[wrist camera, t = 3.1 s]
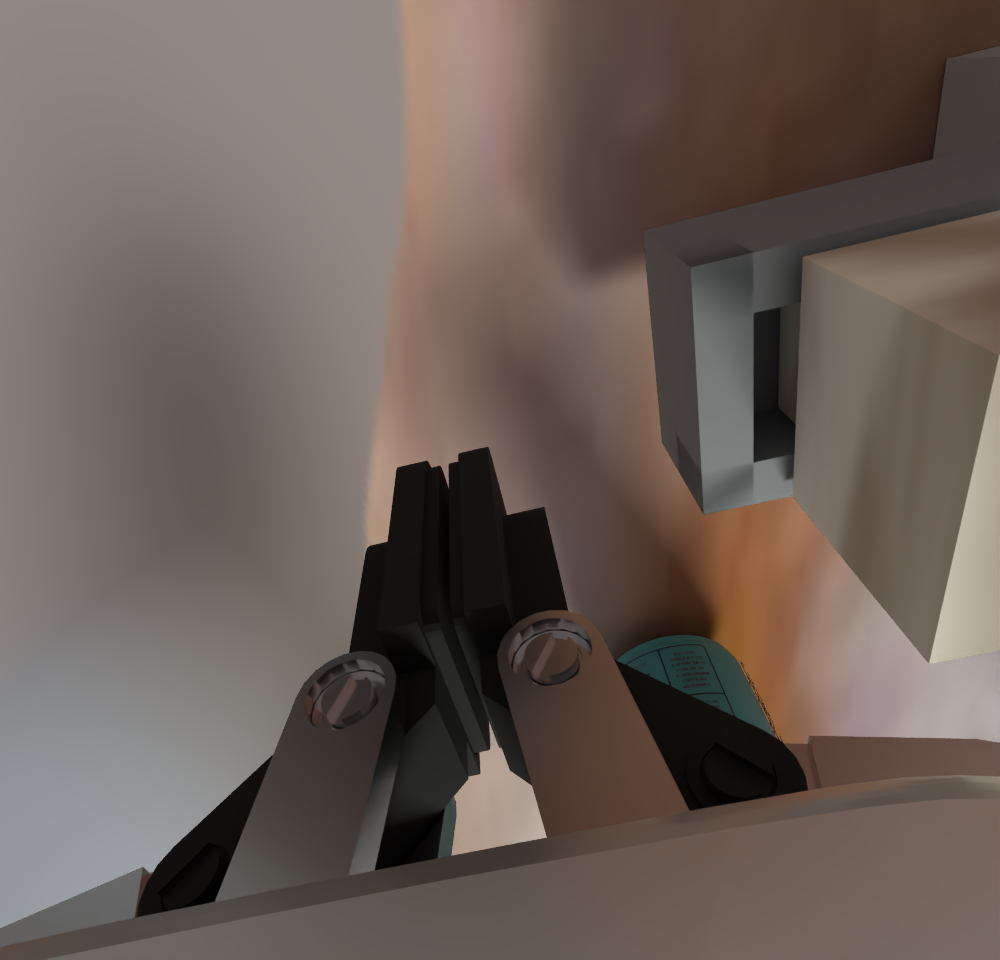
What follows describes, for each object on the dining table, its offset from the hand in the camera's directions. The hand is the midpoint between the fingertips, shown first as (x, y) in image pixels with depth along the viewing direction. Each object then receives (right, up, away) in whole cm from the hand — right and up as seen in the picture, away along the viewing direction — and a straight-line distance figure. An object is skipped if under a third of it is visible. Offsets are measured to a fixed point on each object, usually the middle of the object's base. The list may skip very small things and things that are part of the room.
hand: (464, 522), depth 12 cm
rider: (+9, +4, +3) cm, 10 cm away
